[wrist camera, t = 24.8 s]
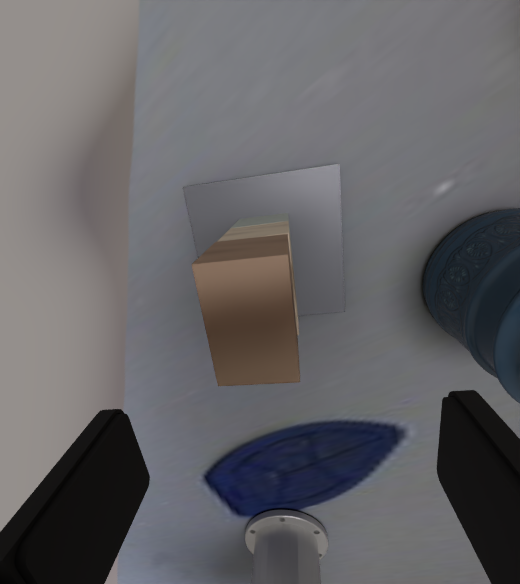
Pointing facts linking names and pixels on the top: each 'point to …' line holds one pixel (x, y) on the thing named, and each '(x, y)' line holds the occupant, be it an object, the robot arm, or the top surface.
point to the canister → (481, 292)
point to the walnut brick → (249, 310)
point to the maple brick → (262, 231)
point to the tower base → (304, 221)
